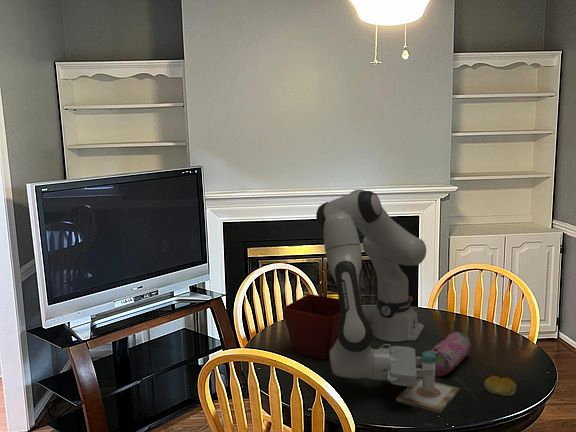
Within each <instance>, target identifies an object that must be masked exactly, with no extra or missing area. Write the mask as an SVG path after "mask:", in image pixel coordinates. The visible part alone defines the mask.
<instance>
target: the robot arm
mask: <svg viewBox="0 0 576 432" xmlns="http://www.w3.org/2000/svg"><path fill="white" fill-rule="evenodd" d="M315 217H316V222H317V224H318V227H319V228H320V230H321V231H322V232H323V242H324V243H323V244H324V251H325V257H326V262H327V265H328V268H329V270H330V273H331V276H332V277H333V280H334V282H335V286H336V289H337V297H338V299H339V304H340V311H341V319H340V323H339V326H338V331H337V335H338V339H337V341H336V343H335V344H334V346H333V347H332V349H330V351H329V359H328V361H329V367H330V370H331V372H332V373H333V375H335V376H337V377H341V378H347V379H358V380H359V379H362V378H363V379H370V380H374V381H375V380H378V381H387V382H390V383H391V385H396V386H403V387H413V386H416V385H417V379H418V378H422V377H423V376H426V375H428V376H432V375H433V369H432V368H427V367H426V369H422V368H421V367H419V368H418V367H417V366H420V365H421V366H422V356H416V349H415V348H413V347H410V346H400V345H392V346H391V344H389V343H388V344H387V343H384V344H383V345H382V346H381V347H379V348H377V349H376V348H372V347H371V344H372V342H373V339H374V337H375V338H376V339H379V340H381V341H386V342H392V343H393V342H394V343H395V342H396V343H397V342H406V341H417V340H418V338H419V336H420V335H421V333H422V332H421V331H423V330H424V329H425V326H424V324H422V323H420V322H418V321H419V319H418V316H419V315H418V313H417V312H416V311H415V310H414V309H413V308H412V307H411V303H412V302H413V299H414V298H413V296H410V295H409V277H408V276H407V275H406V274H405V272H404V271H403V270H402V269H401V268H400V265H401V266H402V265H403V266H419V265H420V264H421V263H422V262H423V261H424V260H425V258H426V255H427V246H426V244H425V242H424V241H425V240H423V239H421V238H419V237H417V236H415V235H414V234H413V233H410V232H409V231H408V230H407V229H405V228H404V227H403V226H401V225H400V224H399V223H397V222H396V221H395V220H394V219H393V218H392V217H391V216H390V215H389V214H388V213H387V211H386V210H385V209H384V207H383V206H382V203H381V200H380V198H379V196H378V195H377V194H376V193H375V192H373V191H371V190H364V189H355V190H353V191H351V192H350V193H349V194H346V195H343V196H341V197H338V198H336V199H333V200H330V201H326V202H324V203H322V204H321V205H320V206H318V208H317V210H316V216H315ZM357 229H358V230H359V231H360V232H361V234H362V235H363V236H364V237H363V239H362V246H361V241H360V237H359V234H358V230H357ZM362 248H363V249H362ZM362 250H363V252H364V253H365V254H366V256H368V258H369V259H370V261H371V263H372V265H373V267H374V270H375V273H376V278H377V297H376V301H375V302H376V303H375V304H376V309H375V310H373V315H372V316H373V319H372V324H371V323H370V321H369V320H368V319H367V317H366V315H365V314H364V310H363V305H362V300H361V299H362V298H361V293H360V288H359V278H360V274H361V271H362V268H363V257H362V256H363V255H362V253H363V252H362ZM416 339H417V340H416Z"/></svg>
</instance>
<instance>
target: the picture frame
mask: <svg viewBox="0 0 576 432" xmlns="http://www.w3.org/2000/svg"><path fill="white" fill-rule="evenodd" d="M460 391H461V390H460V387H456V386H452V385H448V384H446V383H445V384H444V383H440V382H436V381H435V393H434V394H432V395H426V394H424V393H423V392H422V377H417V385H416V386H413V387H409V386H407V388H406V389H404V390H403V392H401V393H400V394H399V395H398V396H397V397H396V399H395V400H396V403H400V404H401V403H402V404H404V405H407V406H412V407H416V408H420V409H423V410H426V411H429V412H433V413H437V414H441V412H442V411H443V410H445V408H446V407H448V404H450V403H451V401H452V400H453V399H454V398H455V397H456V396H457V395H458V394H459V393H460Z"/></svg>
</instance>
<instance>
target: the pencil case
mask: <svg viewBox="0 0 576 432" xmlns="http://www.w3.org/2000/svg"><path fill="white" fill-rule="evenodd" d="M471 348H472V347H471V341H470V338H469V337H468V336H467V335H466V334H464V333H462V332H458V331H453V332H450V333H449V334H448V335H447V336H446V338H445V339H443V340H442V341H440V342H438V343H437V344H436V345H435V346H434V347H433V348H432V349H430V350H429V351H432V352H435V353H436V361H435V377H442V376H445V375H447V374H449V373H450V372H451V371H453V370H454V369H455V368H456V367H457V366H458V365H459V364H460V363H461V362H462V361H463V360H464V359H465V357H466V356H467V355H468V354H469V353H470V351H471Z"/></svg>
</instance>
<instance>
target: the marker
mask: <svg viewBox="0 0 576 432" xmlns="http://www.w3.org/2000/svg"><path fill="white" fill-rule="evenodd" d="M421 354H422V355H421V358H422V365H421V366H422V368H421V369H426V367H427V368H432V369H433V375H432V376H428V375H426V376H423V377H421V379H422V392H423V393H424V394H426V395H432V394H434V393H435V382H436V376H435V361H436V353H435V352H432V351H430V350H425V351H423V352H421Z"/></svg>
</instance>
